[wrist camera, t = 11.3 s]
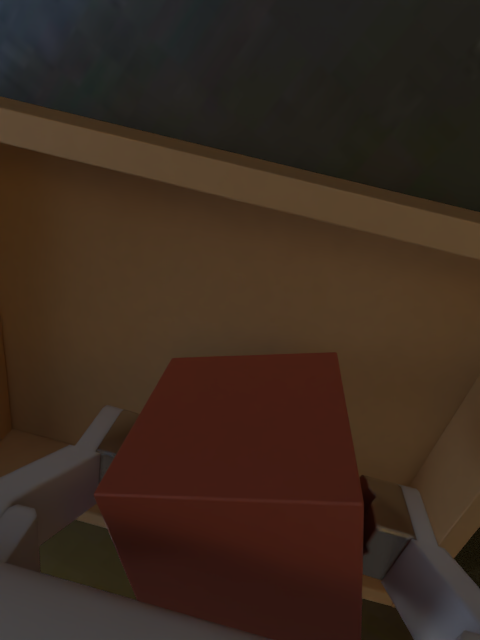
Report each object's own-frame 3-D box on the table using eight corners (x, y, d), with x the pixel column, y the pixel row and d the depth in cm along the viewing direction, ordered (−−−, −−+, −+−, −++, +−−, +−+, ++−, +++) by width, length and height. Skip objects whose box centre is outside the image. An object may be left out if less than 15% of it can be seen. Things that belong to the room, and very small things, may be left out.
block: (199, 473, 14) (150, 636, 9) (171, 357, 12) (91, 494, 7) (339, 476, 13) (360, 658, 8) (337, 351, 11) (364, 504, 6)
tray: (9, 424, 19) (-53, 485, 16) (-25, 90, 12) (-147, 71, 9) (389, 526, 19) (410, 612, 15) (574, 235, 12) (687, 273, 8)
